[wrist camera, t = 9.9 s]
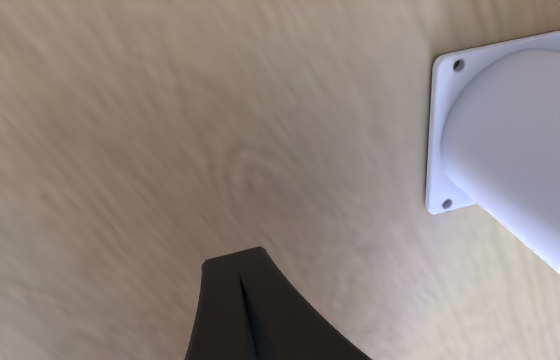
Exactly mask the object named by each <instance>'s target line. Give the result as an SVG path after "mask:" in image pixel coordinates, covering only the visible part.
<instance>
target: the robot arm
mask: <svg viewBox="0 0 560 360" xmlns="http://www.w3.org/2000/svg"><path fill="white" fill-rule="evenodd" d="M457 60H459V65H458V66H457V67H456V68H455V69H453V66H454V63H455V62H456V61H457ZM445 200H447V201H446V202H445V203H444V204H443V202H444V201H445ZM477 203H478V204H479V205H480V206H481V207H482V208H484V209H485V210H486V211H487V212H488V213H489V214H491V215H492V216H493V217H494V218H495V219H496V220H498V221H499V222H500V223H501V224H502V225H503V226H504V227H506V228H507V229H508V230H509V231H510V232H511V233H513V234H514V235H515V236H516V237H517V238H518V239H520V240H521V241H522V242H523V243H524V244H525V245H527V246H528V247H529V248H530V249H531V250H532V251H533V252H535V253H536V254H537V255H538V256H539V257H540V258H542V259H543V260H544V261H545V262H546V263H547V264H549V265H550V266H551V267H552V268H553V269H554V270H555V271H557V272H558V273H559V274H560V30H559V31H554V32H549V33H544V34H540V35H535V36H530V37H525V38H520V39H515V40H510V41H505V42H500V43H495V44H491V45H486V46H481V47H476V48H471V49H466V50H461V51H456V52H451V53H447V54H443V55H441V56H439V57H438V58H437V59H436V60H435V62H434V64H433V71H432V89H431V107H430V126H429V144H428V162H427V180H426V198H425V207H426V209H427V210H428V211H429V212H430V213H431V214H439V213H443V212H446V211H450V210H454V209H458V208H462V207H466V206H469V205H473V204H477ZM185 360H372V359H371V358H370V357H368V356H367V355H366V354H364V353H363V352H362V351H361V350H359V349H358V348H357V347H356V346H355V345H353V344H352V343H351V342H350V341H349V340H348V339H346V338H345V337H344V336H343V335H342V334H341V333H340V332H339V331H338V330H336V329H335V328H334V327H333V326H332V325H331V324H330V323H329V322H328V321H327V320H326V319H325V318H323V317H322V316H321V315H320V314H319V313H318V312H317V311H316V310H315V309H314V308H313V307H312V306H311V304H310V303H309V302H308V301H307V300H306V299H305V298H304V297H303V296H302V295H301V294H300V293H299V292H298V291H297V290H296V289H295V287H294V286H293V285H292V284H291V283H290V282H289V281H288V279H287V278H286V277H285V276H284V275H283V273H282V272H281V271H280V270H279V268H278V267H277V266H276V264H275V263H274V262H273V260H272V259H271V257H270V256H269V255H268V253H267V251H266V250H265V249H264V248H262V247H260V246H259V247H255V248H251V249H247V250H243V251H239V252H235V253H231V254H227V255H224V256H220V257H216V258H212V259H208V260H205V262H204V263H203V264H202V278H201V289H200V296H199V301H198V307H197V312H196V317H195V321H194V326H193V330H192V334H191V339H190V342H189V346H188V350H187V353H186V356H185Z"/></svg>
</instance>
